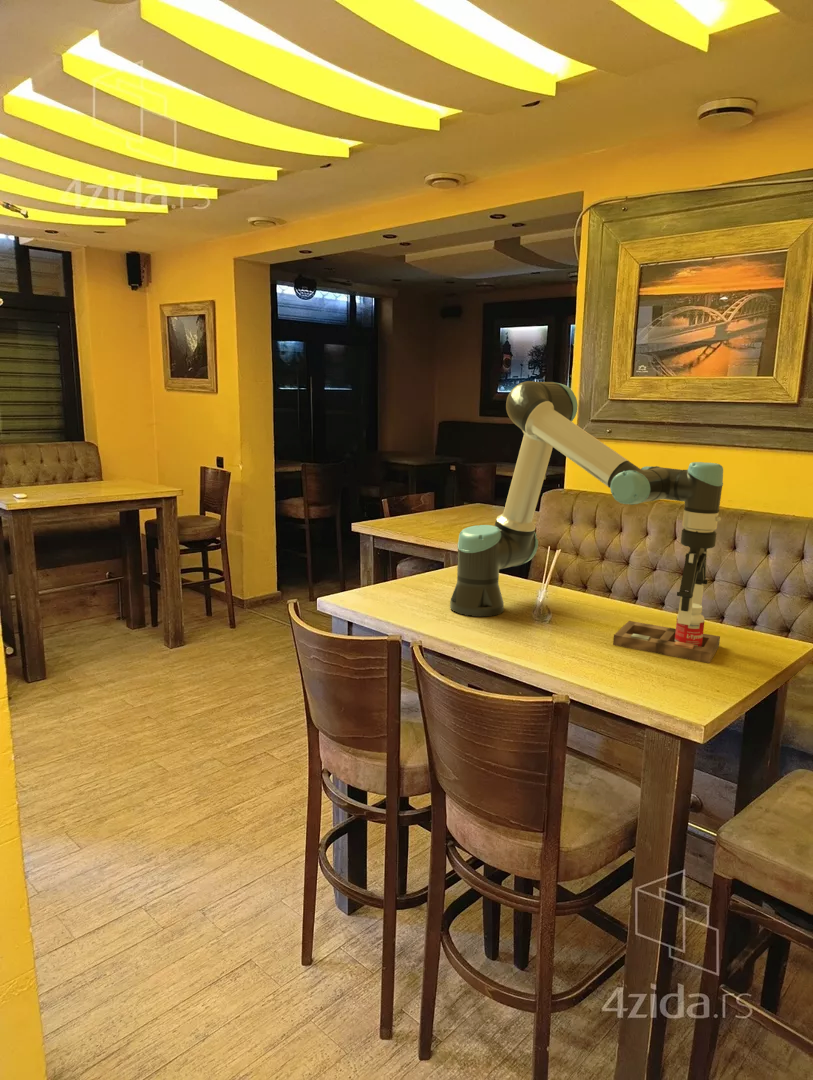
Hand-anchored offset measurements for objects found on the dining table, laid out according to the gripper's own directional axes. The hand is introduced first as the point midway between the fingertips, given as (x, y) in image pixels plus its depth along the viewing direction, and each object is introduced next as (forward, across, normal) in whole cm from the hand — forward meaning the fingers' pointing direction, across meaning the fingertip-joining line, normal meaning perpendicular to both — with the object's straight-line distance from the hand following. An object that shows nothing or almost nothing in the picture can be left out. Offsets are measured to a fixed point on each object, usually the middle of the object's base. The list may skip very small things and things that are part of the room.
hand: (689, 616), depth 168 cm
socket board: (+8, 0, +4) cm, 9 cm away
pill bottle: (+8, 0, 0) cm, 8 cm away
